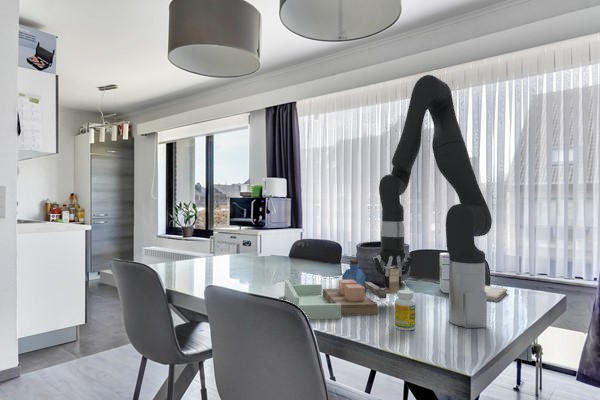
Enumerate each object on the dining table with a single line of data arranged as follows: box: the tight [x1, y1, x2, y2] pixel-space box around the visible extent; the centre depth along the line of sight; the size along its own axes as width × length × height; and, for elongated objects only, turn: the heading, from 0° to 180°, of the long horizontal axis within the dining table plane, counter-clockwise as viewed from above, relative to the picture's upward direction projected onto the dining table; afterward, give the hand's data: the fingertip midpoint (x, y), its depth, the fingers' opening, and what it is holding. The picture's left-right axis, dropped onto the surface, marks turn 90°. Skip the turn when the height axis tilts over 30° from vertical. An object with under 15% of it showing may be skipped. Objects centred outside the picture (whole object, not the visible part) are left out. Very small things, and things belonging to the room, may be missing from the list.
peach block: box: [345, 284, 366, 301], centre depth 122 cm, size 5×5×4 cm
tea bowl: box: [355, 240, 411, 286], centre depth 163 cm, size 25×22×17 cm
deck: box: [322, 288, 378, 316], centre depth 126 cm, size 22×12×3 cm, turn 8°
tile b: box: [338, 279, 357, 295], centre depth 130 cm, size 5×5×4 cm
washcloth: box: [485, 284, 508, 303], centre depth 143 cm, size 12×18×3 cm, turn 142°
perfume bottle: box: [341, 259, 367, 294], centre depth 143 cm, size 6×6×12 cm
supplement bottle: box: [394, 289, 417, 331], centre depth 103 cm, size 5×5×10 cm
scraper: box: [364, 267, 400, 300], centre depth 127 cm, size 16×8×8 cm, turn 8°
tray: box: [283, 279, 342, 320], centre depth 124 cm, size 28×13×6 cm, turn 8°
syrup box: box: [439, 252, 449, 294], centre depth 148 cm, size 6×6×14 cm
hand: (392, 287), depth 128 cm, fingers closed on scraper, 3 cm apart
